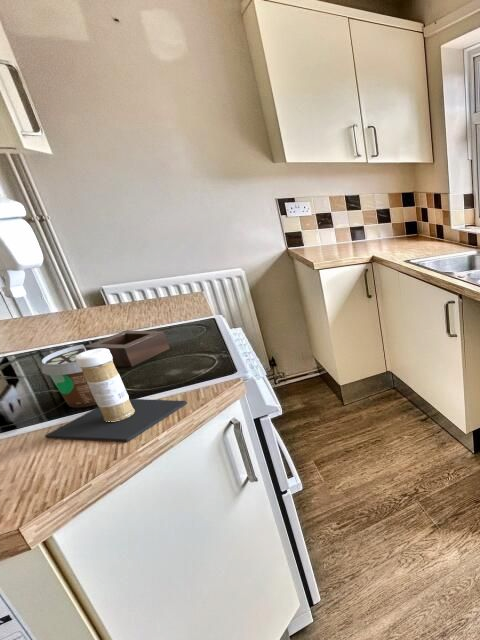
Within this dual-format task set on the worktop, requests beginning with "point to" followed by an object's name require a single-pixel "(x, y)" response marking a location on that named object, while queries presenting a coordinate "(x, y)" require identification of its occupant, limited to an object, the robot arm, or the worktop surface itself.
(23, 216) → the robot arm
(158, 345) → the box
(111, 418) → the sprinkles bottle
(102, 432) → the rubber mat
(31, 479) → the worktop surface
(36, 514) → the worktop surface
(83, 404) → the food container
